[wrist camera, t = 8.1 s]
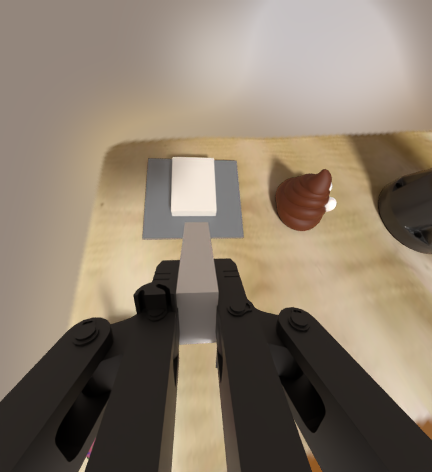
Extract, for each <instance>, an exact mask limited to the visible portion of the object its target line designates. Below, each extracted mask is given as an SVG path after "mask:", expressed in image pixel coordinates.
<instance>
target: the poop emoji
mask: <svg viewBox="0 0 432 472" xmlns="http://www.w3.org/2000/svg"><path fill="white" fill-rule="evenodd" d="M331 182H332V177H331V174H330V172H329V171H328V170H326V169H323V170H322V171H321V172H320V173H318V174H305V175H303V176H298V177H293V178H289V179H287V180H285V181H284V182H282V183H281V184H280V186H279V187H278V189H277V191H276V203H277V211H278V214H279V217H280V219H281V220H282V222H283V223H284V224H285V225H286V226H288V227H289V228H291V229H294V230H297V231H306V230H310V229H312V228H314V227H315V226H316V225H317V224H318V223H319V222H320V220H321V218H322V216H323V214H324V213H325V212H327V211H331V210H333V209H334V208H335V206H336V204H337V202H336V200H335V199H334V198H333V197H329V194H330V190H331V189H332V183H331Z"/></svg>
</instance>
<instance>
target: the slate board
mask: <svg viewBox="0 0 432 472" xmlns="http://www.w3.org/2000/svg"><path fill="white" fill-rule="evenodd" d="M214 170H215V189H216V208H217V211H216V216H172V213H171V193H172V159H153V158H148V170H147V184H146V198H145V211H144V225H143V240H152V239H183V234H184V226H185V222H208V225H209V232H210V238H211V239H217V238H243V237H244V235H243V224H242V214H241V203H240V193H239V182H238V172H237V161H227V160H214Z"/></svg>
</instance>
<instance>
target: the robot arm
mask: <svg viewBox="0 0 432 472" xmlns="http://www.w3.org/2000/svg"><path fill="white" fill-rule="evenodd" d="M379 211H380V215H381V218H382V220H383V222H384V224H385V226H386V227H387V229H388V230H389V231H390V233H391V234H392V235H393V236H394V237H395V238H396V239H397V240H398V241H400V242H401V243H402V244H404V245H405V246H407V247H409V248H410V249H413V250H415V251H418V252H421V253H426V254H432V168H430V169H426V170H423V171H419V172H416V173H412V174H409V175H406V176H403V177H400V178H398V179H397V180H395V181H393V182H392V183H390V184H388V185H387V186H386V187H385V188H384V189H383V190H382V192H381V194H380V197H379ZM133 296H134V302H135V307H136V312H137V314H136V315H135V316H133V317H131V318H129V319H126V320H124V321H120V322H117V323H114V324H110V323H109V322H108V321H107V320H106V319H103V318H101V317H100V318H90V319H86V320H83V321H81V322H79V323H78V324H76V325H74V326H73V327H72V328H71V329H69V330H68V331H67V332H66V333H65V334H64V335H63V336H62V338H60V339H59V340H58V342H57V343H56V344H55V345H54V346H53V347H52V348H51V349H50V350H49V351H48V352H47V353H46V355H44V356H43V357H42V359H41V360H40V361H39V362H38V363H37V364H36V365H35V366H34V367H33V368H32V369H31V370H30V371H29V372H28V373H27V374H26V375H25V376H24V377H23V378H22V380H21V381H20V382H19V383H18V384H17V385H16V386H15V387H14V388H13V389H12V390H11V391H10V392H9V393H8V394H7V395H6V396H5V397H4V399H3V400H2V401H1V402H0V472H78V471H79V469H80V468H81V466H82V464H83V462H84V460H85V458H86V456H87V454H88V452H89V450H90V448H91V446H92V444H93V442H94V440H95V442H94V445H93V448H92V451H91V454H90V457H89V460H88V463H87V466H86V469H85V472H171V468H172V454H173V440H174V426H175V412H176V397H177V383H178V369H179V344H180V345H182V344H198V343H214V342H217V357H216V368H218V377H219V388H220V398H221V409H222V420H223V430H224V441H225V452H226V463H227V472H312V470H311V467H310V464H309V461H308V459H307V456H306V453H305V450H304V447H303V444H302V441H301V438H300V436H299V433H298V430H297V427H296V424H297V426H298V427H299V429H300V431H301V433H302V435H303V437H304V438H305V440H306V442H307V444H308V446H309V448H310V449H311V451H312V453H313V455H314V457H315V459H316V460H317V462H318V464H319V466H320V468H321V470H322V471H323V472H432V440H431V439H430V438H429V437H428V436H427V435H426V434H425V433H424V432H423V431H422V430H421V429H420V427H419V426H418V425H417V424H416V423H415V422H414V421H413V420H412V419H411V418H410V417H409V416H408V415H407V414H406V413H405V412H404V411H403V410H402V409H401V408H400V407H399V406H398V405H397V404H396V402H395V401H394V400H393V399H392V398H391V397H390V396H389V395H388V394H387V393H386V392H385V391H384V390H383V389H382V388H381V387H380V386H379V385H378V384H377V383H376V382H375V381H374V380H373V378H372V377H371V376H370V375H369V374H368V373H367V372H366V371H365V370H364V369H363V368H362V367H361V366H360V365H359V364H358V363H357V362H356V361H355V360H354V359H353V358H352V357H351V356H350V354H349V353H348V352H347V351H346V350H345V349H344V348H343V347H342V346H341V345H340V344H339V343H338V342H337V341H336V340H335V339H334V338H333V337H332V336H331V335H330V334H329V333H328V332H327V331H326V329H325V328H324V327H323V326H322V325H321V324H320V323H319V322H318V321H317V320H316V319H315V318H314V317H313V316H312V315H310V314H309V313H308V312H306V311H304V310H302V309H299V308H294V307H291V308H285V309H283V310H281V312H280V314H279V315H275V314H271V313H266V312H263V311H260V310H258V309H256V308H255V307H254V305H253V304H252V303H251V302H250V301H249V300H248V299H247V297H246V294H245V291H244V288H243V285H242V281H241V278H240V275H239V272H238V269H237V266H236V264H235V263H234V262H233V261H232V260H231V259H214V258H213V252H212V245H211V238H210V232H209V225H208V222H185V226H184V234H183V242H182V250H181V258H180V260H166V261H162V262H161V263H160V264H159V265H158V266H157V268H156V271H155V275H154V278H153V281H152V283H148V284H146V285H143V286H142V287H140V288H139V289H138V290H137V291H136V292H135V294H134V295H133ZM294 420H295V421H294ZM295 422H296V424H295ZM95 438H96V439H95Z"/></svg>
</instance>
